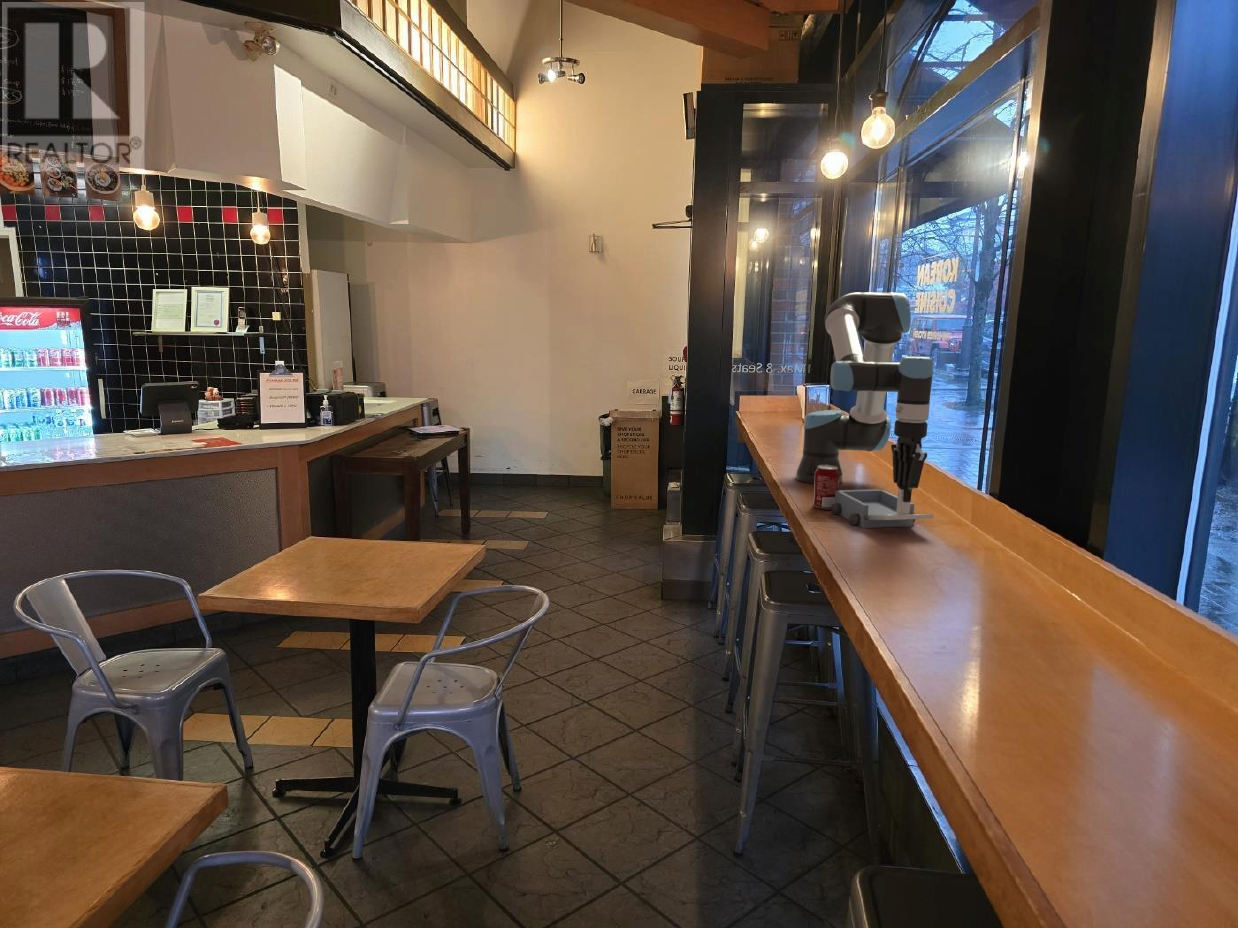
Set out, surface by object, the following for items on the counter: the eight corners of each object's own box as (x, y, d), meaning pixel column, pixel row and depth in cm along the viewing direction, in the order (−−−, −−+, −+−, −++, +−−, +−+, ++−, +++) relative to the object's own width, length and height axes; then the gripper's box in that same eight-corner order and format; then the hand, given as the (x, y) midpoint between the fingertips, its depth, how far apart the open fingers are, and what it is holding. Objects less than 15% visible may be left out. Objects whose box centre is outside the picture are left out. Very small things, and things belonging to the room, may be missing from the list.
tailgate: (864, 515, 191) (883, 515, 182) (913, 513, 193) (934, 513, 184) (864, 519, 191) (883, 520, 182) (913, 518, 193) (934, 518, 184)
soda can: (837, 511, 208) (840, 469, 206) (813, 509, 210) (815, 468, 207) (835, 505, 215) (838, 465, 213) (812, 504, 216) (814, 464, 214)
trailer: (828, 511, 208) (830, 490, 207) (885, 509, 211) (887, 489, 210) (856, 528, 192) (858, 505, 191) (918, 525, 195) (920, 503, 193)
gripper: (883, 416, 187) (876, 507, 191) (911, 424, 174) (902, 521, 179) (911, 416, 188) (903, 506, 192) (940, 424, 175) (931, 520, 180)
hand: (902, 513), depth 186 cm, fingers closed
